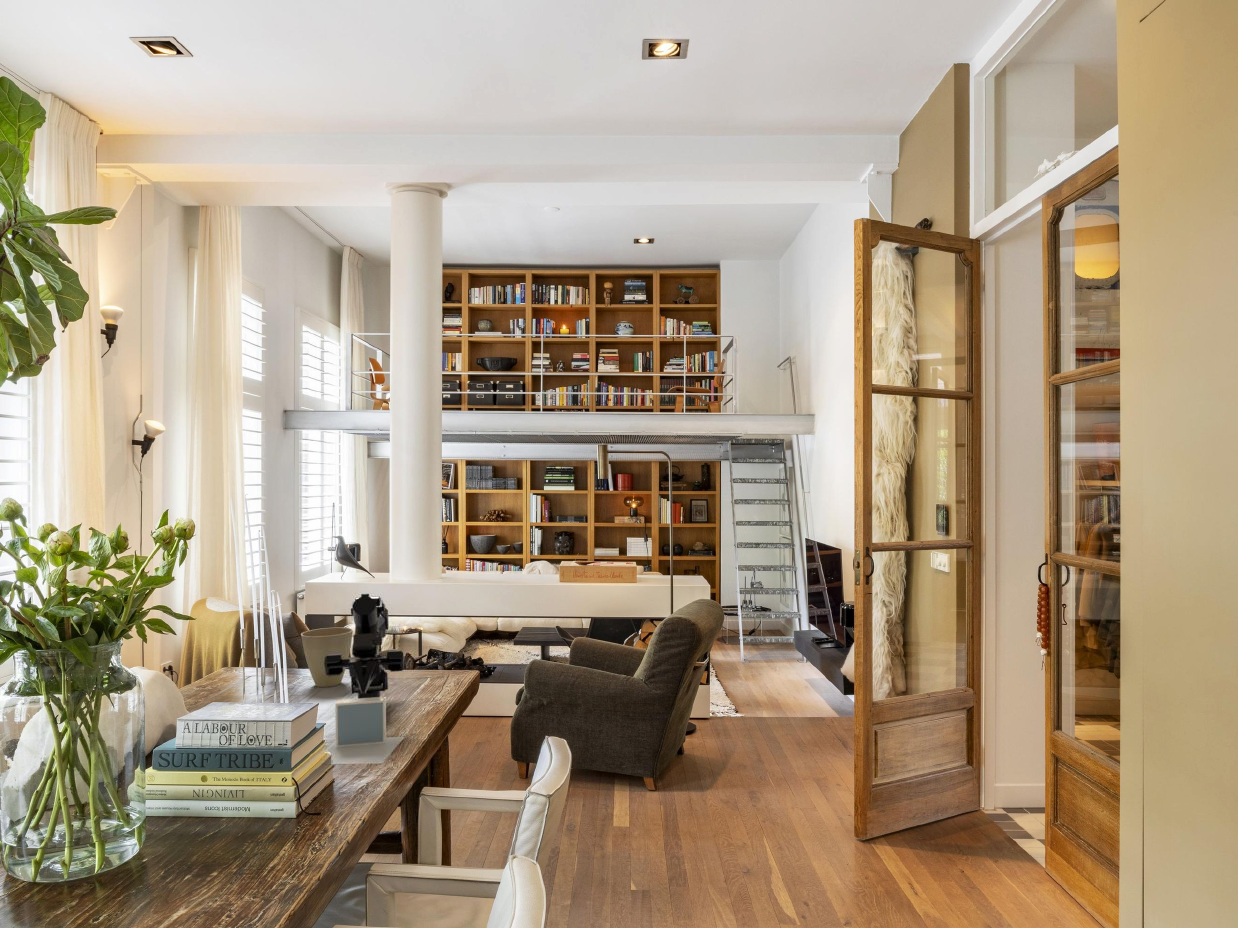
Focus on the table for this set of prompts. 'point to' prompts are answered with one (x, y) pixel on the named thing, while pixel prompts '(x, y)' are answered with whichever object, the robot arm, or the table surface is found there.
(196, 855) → the table surface
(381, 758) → the mat
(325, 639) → the plant pot
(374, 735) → the cream block
